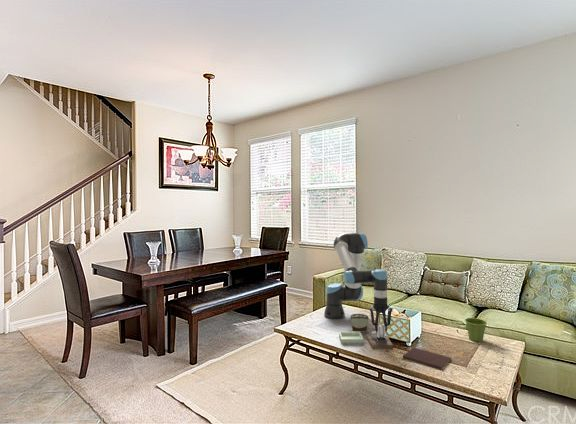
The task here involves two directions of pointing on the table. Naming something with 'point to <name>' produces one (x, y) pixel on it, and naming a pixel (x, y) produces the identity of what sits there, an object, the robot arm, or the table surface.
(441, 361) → the notebook
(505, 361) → the table surface
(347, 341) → the tray
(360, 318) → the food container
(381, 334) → the pin
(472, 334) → the plant pot
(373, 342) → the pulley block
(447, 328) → the table surface
